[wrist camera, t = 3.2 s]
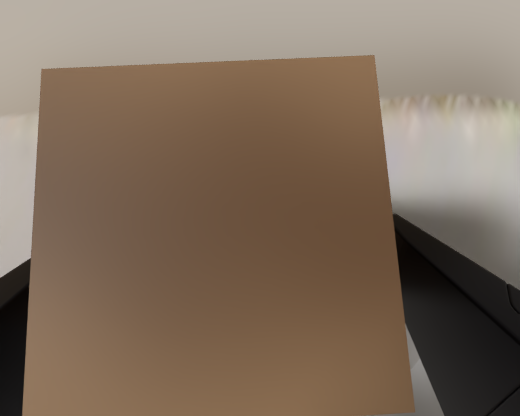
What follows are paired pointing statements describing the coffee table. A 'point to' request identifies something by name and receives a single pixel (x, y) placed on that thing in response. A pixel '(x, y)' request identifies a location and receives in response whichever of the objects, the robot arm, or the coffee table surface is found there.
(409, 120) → the coffee table surface
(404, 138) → the coffee table surface
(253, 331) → the walnut block
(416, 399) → the grey faceted block
